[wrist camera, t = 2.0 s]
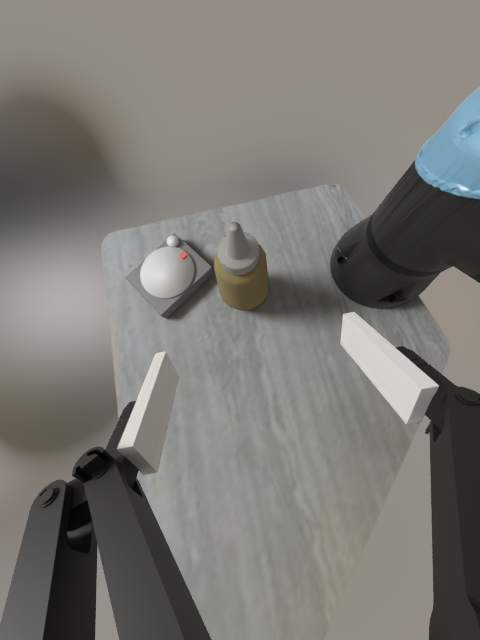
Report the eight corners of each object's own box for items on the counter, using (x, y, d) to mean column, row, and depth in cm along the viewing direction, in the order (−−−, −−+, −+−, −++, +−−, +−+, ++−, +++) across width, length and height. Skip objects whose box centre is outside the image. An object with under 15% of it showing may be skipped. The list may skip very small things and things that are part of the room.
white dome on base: (179, 240, 40) (172, 230, 36) (214, 273, 37) (210, 264, 34) (133, 283, 38) (122, 275, 35) (166, 318, 36) (158, 314, 33)
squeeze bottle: (218, 279, 37) (183, 204, 20) (260, 267, 37) (264, 180, 19) (229, 321, 35) (201, 279, 18) (273, 308, 35) (290, 253, 18)
